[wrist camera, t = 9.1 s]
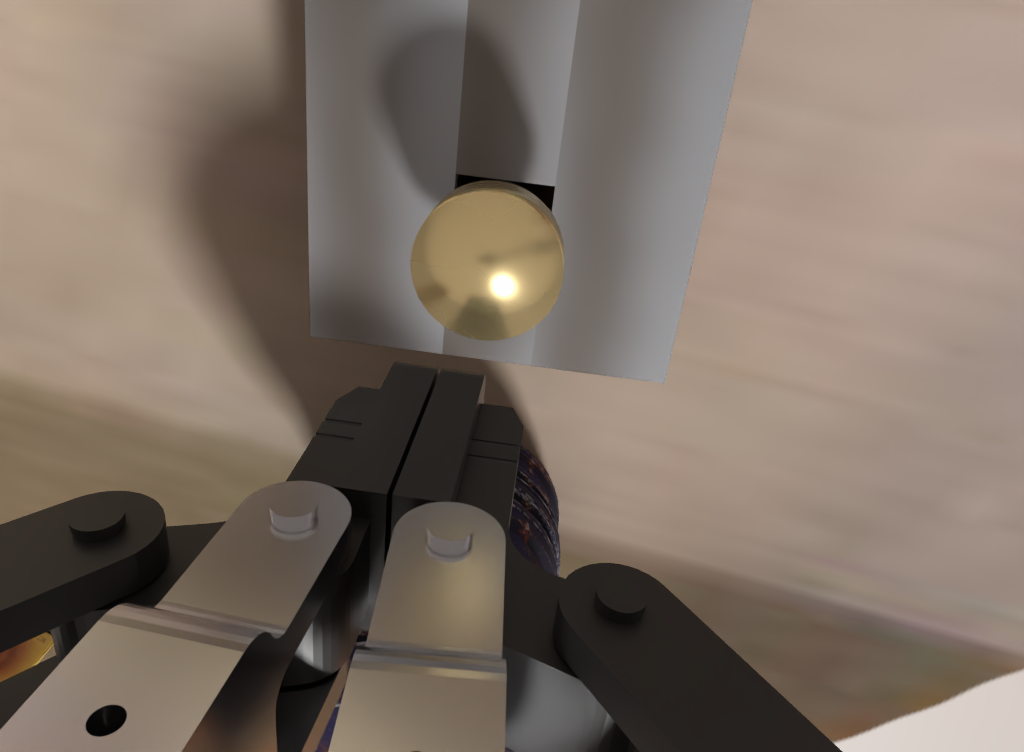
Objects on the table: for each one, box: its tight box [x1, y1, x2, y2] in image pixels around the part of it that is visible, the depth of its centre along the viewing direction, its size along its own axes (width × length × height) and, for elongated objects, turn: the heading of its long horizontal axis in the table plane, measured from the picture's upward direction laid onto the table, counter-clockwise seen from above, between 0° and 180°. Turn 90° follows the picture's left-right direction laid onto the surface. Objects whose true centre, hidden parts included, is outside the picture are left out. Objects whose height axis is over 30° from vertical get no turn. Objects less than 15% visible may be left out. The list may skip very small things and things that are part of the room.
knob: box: [410, 177, 564, 341], centre depth 23 cm, size 4×4×9 cm
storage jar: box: [315, 446, 560, 752], centre depth 29 cm, size 10×10×15 cm
